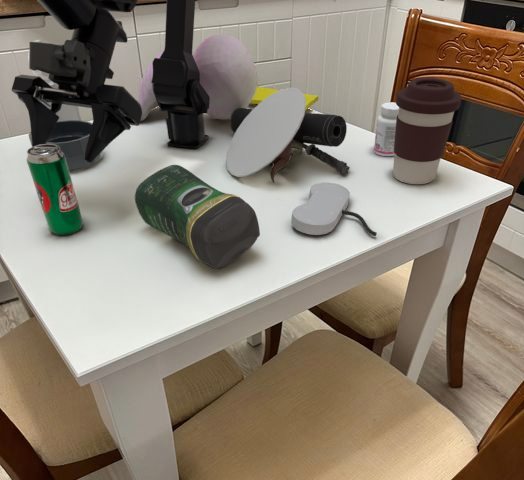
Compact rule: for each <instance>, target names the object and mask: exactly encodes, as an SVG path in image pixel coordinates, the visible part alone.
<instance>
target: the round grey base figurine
mask: <svg viewBox="0 0 524 480" xmlns="http://www.w3.org/2000/svg"><path fill="white" fill-rule="evenodd" d="M279 90H280V91H277V92H275V93H273V94H272V95H270V96H269V97H267V98H266V99H264V100H263V101H262V102H261V103H260V104H258V105H255V107H254V108H252V109H253V110H252V111H251V112H250V113H249V114H248V116H247V117H246V118H245V119H244V120H243V122H242V123H241V125H240V126H239V127H238V129H237V130H236V132H235V133H234V134H233V136H232V137H231V139H230V142H229V145H228V148H227V150H226V155H225V165H226V169H227V171H228V172H229V174H231V175H232V176H234V177H238V178H242V177H243V178H244V177H248V176H251V175H253V174H255V173H258V172H260V171H261V170H263V169H264V168H265V167H267V166H269V165H270V164H271V163H272V166H271V168H270V173H269V174H270V179H271V181H272V183H275V176H276V174H277V173H279V171H281V170H283V169H284V168H286V167H287V166H288V165H289V163H290V160H291V158H292V157H293V156H296V155H299V154H301V153H302V152H303V149H304V148H302V147H301V146H300V145H298V144H296V143H294V142H292V141H291V140H292V139H293V137H294V135H295V134H296V132H297V131H298V129H299V127H300V125H301V122H302V120H303V117H304V114H305V113H306V110H305V109H306V100H305V96H304V94H305V93H303V92H302V90H301V89H299V88H296V87H286V88H282V89H279ZM293 149H294V151H293Z"/></svg>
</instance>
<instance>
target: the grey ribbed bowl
mask: <svg viewBox="0 0 524 480" xmlns="http://www.w3.org/2000/svg"><path fill="white" fill-rule="evenodd" d="M92 123H93V122H91V121H86V120H82V119H81V120H66V121H57V123H56V125H55V127H54V129H53V131H52V133H51V135H50V137H49V139H48V141H47V143H46V144H55V145H58V146H59V147H60V150H61V151H62V152H63V153H64V154H65V158H66V161H67V165H68V169H69V172H74V171H79V170H83V169H86V168H88V167H90V166H92V165H94V164H96V163H98V162H99V161H100V160H101V159H102V158H103V156H104V152H103V151H102V152H101V153H100V154H99V155H98V156H97V157H96V158H95V159H94V160H93V161H92V162H91V163H89V162H87V161H86V160H85V151H86V146H87V142H88V139H89V135H90V131H91V127H92ZM28 139H29V142H30V146H32V137H31V131H30V132H29V133H28Z"/></svg>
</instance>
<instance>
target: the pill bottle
mask: <svg viewBox="0 0 524 480" xmlns="http://www.w3.org/2000/svg"><path fill="white" fill-rule="evenodd" d="M398 112H399V107H398V106H397V105H396V101H395V102H392V101H391V102H390V101H389V102H384V103H382V104H381V106H380V114H379V115H378V117H377V120H376V121H377V122H376V129H375V138H374V143H373V144H374V145H373V152H374V154H376V155H378V156H381V157H394V155H395V153H394V141H395V130H396V119H397V115H398Z"/></svg>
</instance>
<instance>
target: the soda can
mask: <svg viewBox="0 0 524 480" xmlns="http://www.w3.org/2000/svg"><path fill="white" fill-rule="evenodd" d="M26 154H27V157H26V163H27V166H28V170H29V173H30V175H31V176H30V177H31V178H32V182H33V185H34V187H35V190H36V194H37V197H38V200H39V203H40V206H41V209H42V212H43V215H44V218H45V221H46V224H47V227H48V229H49V231H50V232H52V233H53V234H56V235H58V236H67V235H72V234H75V233H77V232H78V231H80V230H81V229H82V227H83V225H84V220H83V216H82V213H81V209H80V205H79V201H78V197H77V194H76V191H75V187H74V183H73V180H72V177H71V171H69V169H68V165H67V161H66V158H65V154H64V153H63V152H62V151H61V150H60V147H59V146H58V145H55V144H41V145H37V146H34V147H32V146H31V147H30V148H28V149H27V150H26Z"/></svg>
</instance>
